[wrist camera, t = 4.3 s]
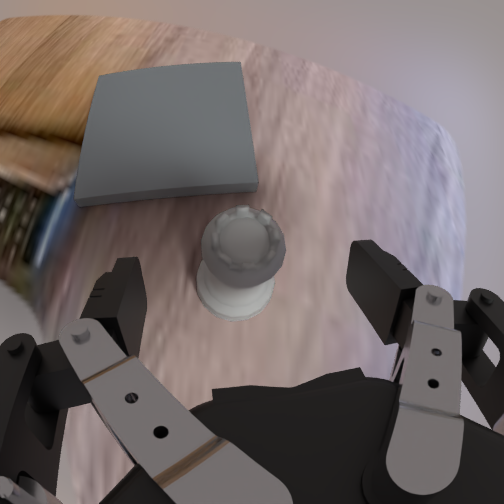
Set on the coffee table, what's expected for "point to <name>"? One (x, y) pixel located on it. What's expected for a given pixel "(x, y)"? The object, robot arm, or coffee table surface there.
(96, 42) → the coffee table surface
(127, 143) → the slate tile
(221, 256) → the rook chess piece
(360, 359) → the coffee table surface
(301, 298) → the coffee table surface
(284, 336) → the coffee table surface
